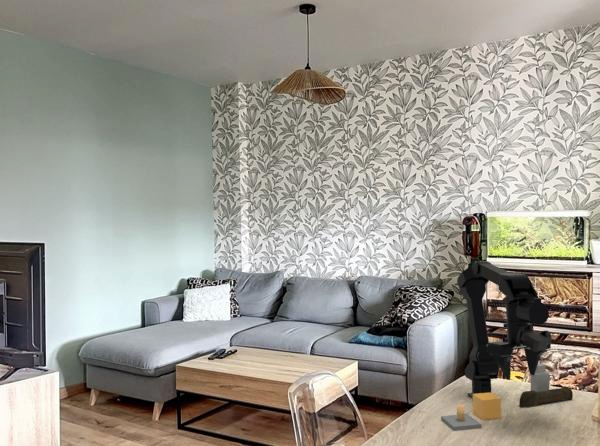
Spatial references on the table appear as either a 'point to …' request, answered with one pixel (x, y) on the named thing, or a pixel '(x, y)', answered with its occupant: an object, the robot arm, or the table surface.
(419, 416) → the table surface
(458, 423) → the grey base with peg
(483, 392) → the robot arm
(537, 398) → the hand tool
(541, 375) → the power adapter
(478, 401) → the orange foam cube
